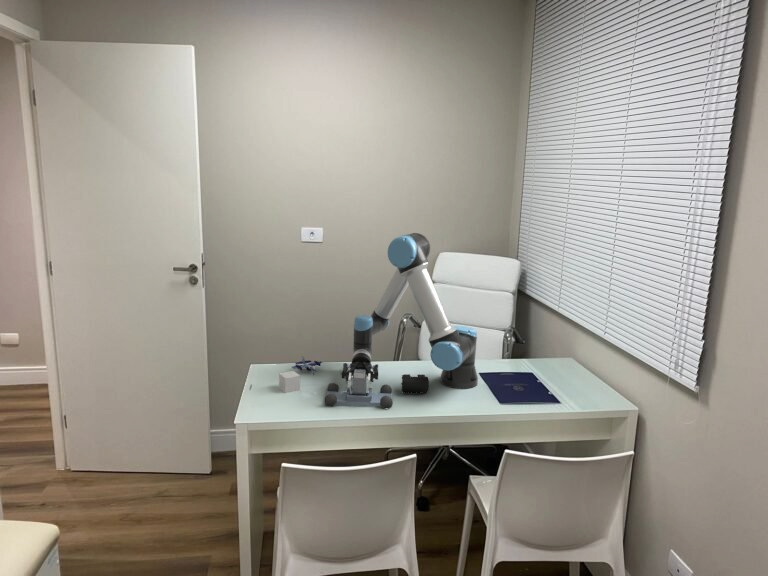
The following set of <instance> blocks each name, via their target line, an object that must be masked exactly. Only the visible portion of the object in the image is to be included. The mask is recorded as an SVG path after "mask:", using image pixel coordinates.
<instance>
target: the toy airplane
mask: <svg viewBox="0 0 768 576" xmlns="http://www.w3.org/2000/svg"><path fill="white" fill-rule="evenodd" d="M322 364H323V362H322V361H317V360H314V361H313V362H312V361H311V360H305V357H304V356H303V355H302V356H301V361H297V362H295V365H294V366H291V369H292V370H293V369H297V370H299V371H303V369H305V370H306V371H309V372H311V375H312V374H313V375H312V376H315V372H317V373H318V371H317V370H316V369H315V367H316V366H318V367H321V366H322Z"/></svg>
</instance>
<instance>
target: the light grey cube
mask: <svg viewBox="0 0 768 576" xmlns="http://www.w3.org/2000/svg"><path fill="white" fill-rule="evenodd" d="M278 388H279V389H280V390H281V391H283V393H285V394H288V393H292V392H293V391H294V392H298V391H301V375H300V374H299V373H297V372H296V371H295V370H291V371H285V372H279V373H278Z"/></svg>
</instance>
